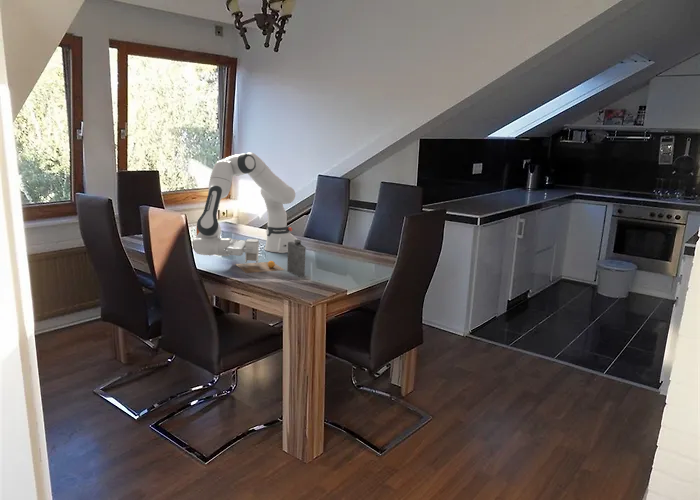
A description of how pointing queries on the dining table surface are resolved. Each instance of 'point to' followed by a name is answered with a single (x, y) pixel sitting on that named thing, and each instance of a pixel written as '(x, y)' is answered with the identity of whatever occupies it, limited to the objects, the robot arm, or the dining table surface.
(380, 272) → the dining table surface
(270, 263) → the orange ball
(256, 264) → the tan flat board
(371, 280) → the dining table surface
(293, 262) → the flask
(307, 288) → the dining table surface
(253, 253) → the white carton
